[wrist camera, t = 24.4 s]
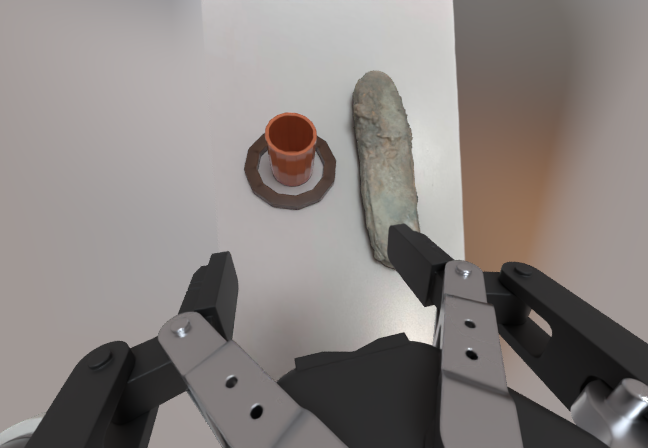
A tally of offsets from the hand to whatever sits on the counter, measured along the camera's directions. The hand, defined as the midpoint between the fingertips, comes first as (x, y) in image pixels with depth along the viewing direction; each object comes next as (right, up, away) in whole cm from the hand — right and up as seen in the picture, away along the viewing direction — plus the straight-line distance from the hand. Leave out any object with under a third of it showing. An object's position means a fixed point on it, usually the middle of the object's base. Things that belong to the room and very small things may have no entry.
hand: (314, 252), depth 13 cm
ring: (-5, +10, +27) cm, 30 cm away
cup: (-5, +10, +27) cm, 30 cm away
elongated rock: (+10, +11, +29) cm, 33 cm away
